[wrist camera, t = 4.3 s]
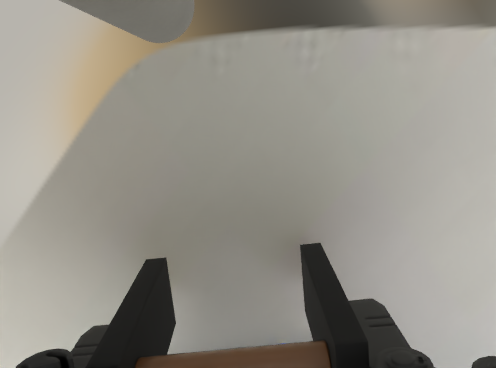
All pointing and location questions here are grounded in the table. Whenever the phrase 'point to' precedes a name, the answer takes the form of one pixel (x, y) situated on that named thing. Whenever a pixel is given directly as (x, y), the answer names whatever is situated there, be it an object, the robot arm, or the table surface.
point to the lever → (247, 357)
